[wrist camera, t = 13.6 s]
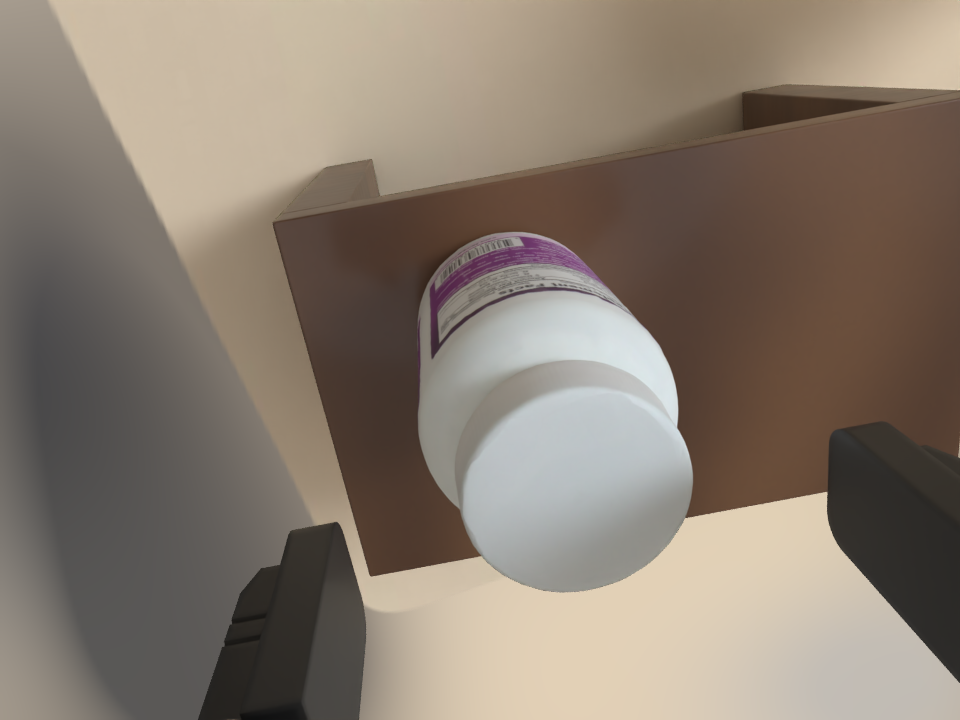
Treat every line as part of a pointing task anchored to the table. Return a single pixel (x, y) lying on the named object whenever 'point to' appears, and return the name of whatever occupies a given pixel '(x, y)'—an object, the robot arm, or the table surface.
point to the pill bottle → (548, 415)
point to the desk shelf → (668, 294)
